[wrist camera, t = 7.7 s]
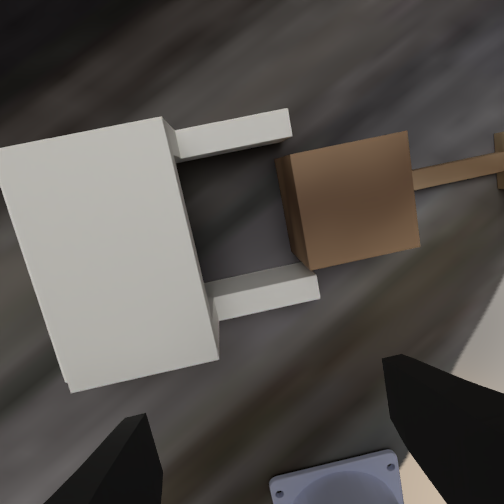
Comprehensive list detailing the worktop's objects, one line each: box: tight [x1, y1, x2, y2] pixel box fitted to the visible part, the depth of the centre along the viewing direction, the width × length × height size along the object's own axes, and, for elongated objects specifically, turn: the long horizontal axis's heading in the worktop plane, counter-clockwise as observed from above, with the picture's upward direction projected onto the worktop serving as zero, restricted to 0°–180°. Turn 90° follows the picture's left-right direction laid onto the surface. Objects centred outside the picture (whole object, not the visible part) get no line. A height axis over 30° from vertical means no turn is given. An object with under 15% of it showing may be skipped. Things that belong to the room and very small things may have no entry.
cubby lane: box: [0, 108, 320, 393], centre depth 17 cm, size 9×11×7 cm
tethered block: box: [274, 131, 504, 271], centre depth 18 cm, size 5×15×6 cm, turn 101°
